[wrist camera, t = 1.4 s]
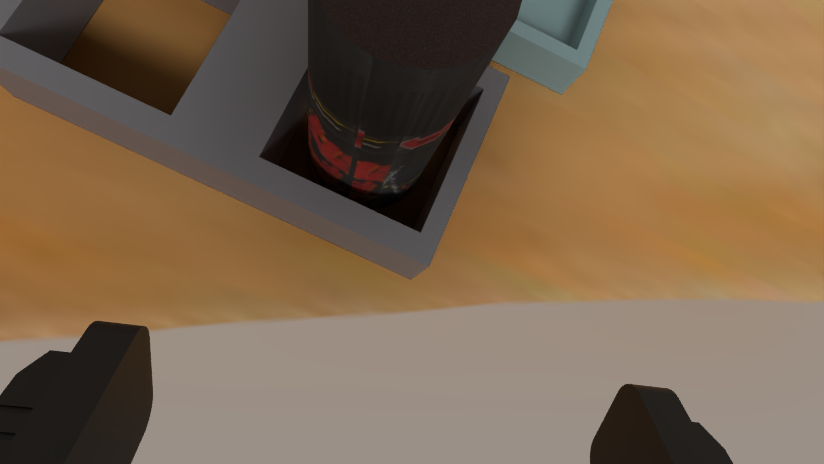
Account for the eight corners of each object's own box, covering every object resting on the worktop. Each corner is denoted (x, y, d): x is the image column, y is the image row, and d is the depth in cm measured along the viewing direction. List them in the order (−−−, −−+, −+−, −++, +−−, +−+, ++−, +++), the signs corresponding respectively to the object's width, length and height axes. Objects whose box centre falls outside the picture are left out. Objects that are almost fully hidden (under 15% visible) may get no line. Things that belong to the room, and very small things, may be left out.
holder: (482, 115, 32) (510, 76, 27) (411, 279, 29) (428, 266, 25) (123, -61, 30) (91, -131, 26) (13, 96, 28) (-41, 48, 23)
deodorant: (304, 103, 30) (299, -130, 16) (415, 99, 31) (508, -121, 17) (312, 214, 29) (317, 72, 14) (428, 206, 30) (538, 68, 16)
